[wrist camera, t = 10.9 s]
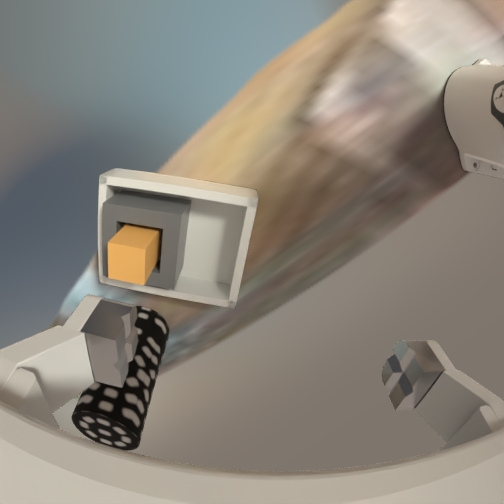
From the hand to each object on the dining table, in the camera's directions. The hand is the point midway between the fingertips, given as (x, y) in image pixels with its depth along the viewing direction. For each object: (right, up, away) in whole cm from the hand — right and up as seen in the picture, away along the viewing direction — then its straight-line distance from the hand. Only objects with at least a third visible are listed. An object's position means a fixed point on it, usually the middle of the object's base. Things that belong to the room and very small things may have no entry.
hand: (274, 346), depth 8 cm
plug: (-13, +4, +26) cm, 29 cm away
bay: (-10, +5, +29) cm, 31 cm away
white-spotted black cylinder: (-18, -9, +36) cm, 41 cm away
